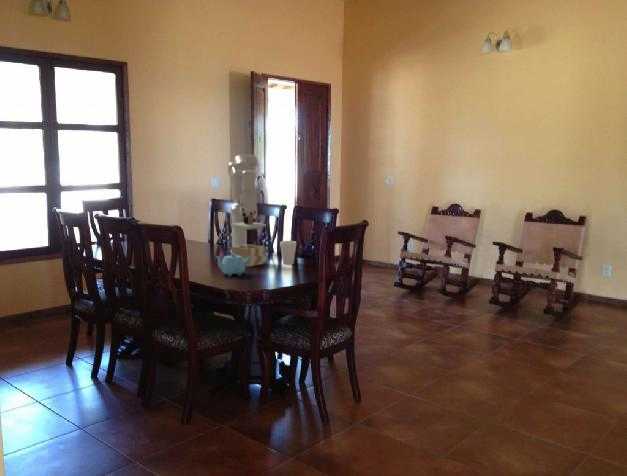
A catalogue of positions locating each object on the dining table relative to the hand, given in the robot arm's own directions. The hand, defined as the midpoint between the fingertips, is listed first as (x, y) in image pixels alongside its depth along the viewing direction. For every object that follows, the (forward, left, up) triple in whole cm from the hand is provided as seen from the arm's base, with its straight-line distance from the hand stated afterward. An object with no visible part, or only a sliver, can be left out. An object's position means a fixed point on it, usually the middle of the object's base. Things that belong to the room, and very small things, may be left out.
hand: (248, 222), depth 319 cm
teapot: (+28, +19, -24) cm, 42 cm away
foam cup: (-16, +18, -24) cm, 34 cm away
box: (0, +1, -24) cm, 24 cm away
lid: (0, 0, -3) cm, 3 cm away
